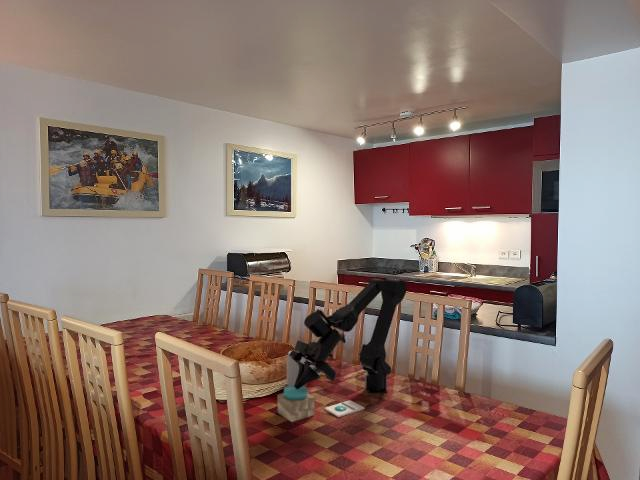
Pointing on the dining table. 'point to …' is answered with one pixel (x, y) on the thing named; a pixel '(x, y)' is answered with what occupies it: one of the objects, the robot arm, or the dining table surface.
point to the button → (295, 392)
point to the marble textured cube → (295, 407)
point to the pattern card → (344, 408)
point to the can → (292, 370)
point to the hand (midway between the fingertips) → (295, 388)
